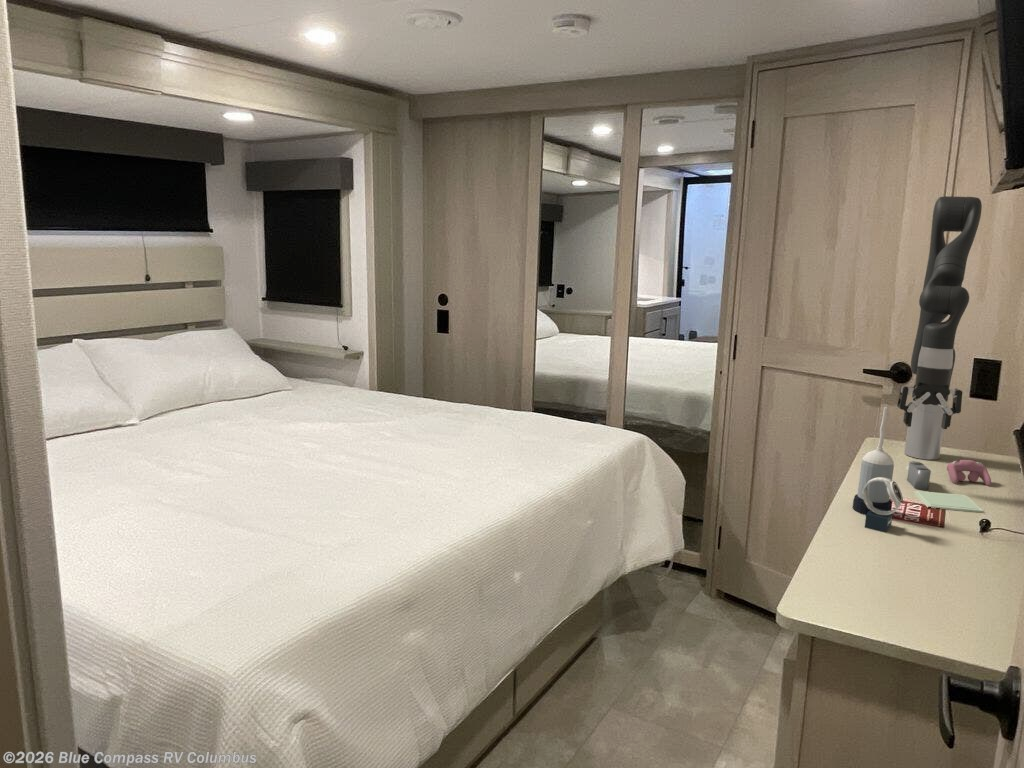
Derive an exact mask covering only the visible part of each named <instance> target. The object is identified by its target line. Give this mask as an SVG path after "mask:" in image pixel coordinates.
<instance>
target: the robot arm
mask: <svg viewBox="0 0 1024 768" xmlns="http://www.w3.org/2000/svg"><path fill="white" fill-rule="evenodd" d="M982 207H983V205H982V200H981V198H979V197H977V196H976V197H975V196H974V197H973V196H940V197H939V198H937V199H936V201H935V204H934V206H933V211H932V221H931V231H930V243H929V244H930V245H929V253H928V261H927V265H926V271H925V276H924V281H923V287H922V292H921V293H920V296H919V299H918V305H919V307H920V311H919V320H918V325H917V330H916V336H915V339H914V343H913V344H914V345H913V349H912V353H911V360H910V369H911V373H912V374H913V375H915V383H914V386H906V385H905V384H904V385H903V384H902V385H901V386H900V390H899V395H898V399H897V405H896V407H897V408H899V409H900V410H902V411H903V412H904V413H903V420H902V421H903V424H905V426H906V427H907V432H906V437H905V444H904V445H905V446H904V451H903V453H904V455H906V456H909V457H911V458H914V459H915V458H916V459H920V460H929V461H930V460H931V461H933V460H938V459H940V455H941V450H942V449H941V448H942V441H943V436H944V435H943V434H944V430H947V429H948V428H950V427H951V422H952V421H951V420H952V416H953V415H955V414H960V413H961V412H962V404H963V403H962V401H963V390H961V389H959V388H953V389H950V388H951V381H952V378H953V377H952V376H953V372H954V369H955V368H954V367H955V362H956V350H955V347H954V345H955V339H956V334H957V330H958V326H959V324H960V321H961V318H962V316H963V315H964V313H965V311H966V309H967V307H968V305H969V302H970V293H969V292H968V290H967V289H966V287H964V286H963V282H964V279H965V272H966V268H967V261H968V259H969V258H968V257H969V254H970V251H971V250H972V249H971V248H972V246H973V244H974V240H975V238H976V234H977V232H978V231H977V230H978V228H979V226H980V225H979V224H980V221H981V217H982V210H983V208H982ZM945 232H955V233H956V232H957V233H959V234H958V235H957V236H956V237H955V238H954V239H953V240H952V241H950V242H949V243H948V244H947V243H946V239H945ZM948 316H949V317H948ZM947 317H948V318H947ZM946 318H947V319H946ZM945 319H946V320H945ZM944 320H945V321H944ZM911 393H912V395H911V399H910V400H909V402H908V403H907V399H908V396H909V395H910V394H911ZM949 396H950V397H951V398H952V405H951V406H952V407H950V406H949V404H948V401H949Z"/></svg>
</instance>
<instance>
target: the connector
mask: <svg viewBox="0 0 1024 768" xmlns="http://www.w3.org/2000/svg"><path fill="white" fill-rule="evenodd" d="M906 471H907V477H906V481H907V483H909V484H910V485H911V486H912V487H913V489H915V490H916V491H924V492H928V490H929V487H930V480H931V479H930V478H931V473H932V471H931V469H930V468H928V467H927V466H926V465H925V464H924V463H923V462H920V461H909V462H908V465H906Z"/></svg>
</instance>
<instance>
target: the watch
mask: <svg viewBox="0 0 1024 768" xmlns="http://www.w3.org/2000/svg"><path fill="white" fill-rule="evenodd" d="M874 481H883V482H885V485H886V486H887V491H888V494H889V497H890V498H889V499H890V500H891V502H892V503H893V504H894V506H895V508H894V509H891V511H887V510H882V509H878V508H874V506H873V503H872V502H871V500H870V497H869V494H868V490H867V489H868V488H867V485H868V484H869V483H871V482H874ZM862 495H863V499H864V502H865V504H866V506H867V508H868V509H870V510H869V511H868V513H867V514H866V515H865V521H864V522H865V523H864V528H866V529H869V530H874V531H879V532H881V533H882V532H883V533H887V531H888V530H889V529H890V527H891V526H892V523H893V522H892V521H893V516H894V514H895V512H896V511H897V510H898V509H899V508H900V506H901V504H902V503H903V502H904V498H903V494H902V491H901V488H900V487H899V485H898V483H896V481H893V480H892V481H891V480H890V479H888V478H884V477H877V478H873V479H871V480H870V481H869V482H868V483H867V484H866V485H865V486H864V488H863V492H862Z"/></svg>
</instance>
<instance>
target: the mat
mask: <svg viewBox="0 0 1024 768" xmlns="http://www.w3.org/2000/svg"><path fill="white" fill-rule="evenodd" d="M913 494H914V495H915V496H916V497H917V498H918V499H919V500H920V501H921V502H922V504H923V505H925V506H926V507H927V508H928V507H931V508H930V509H936V508H940V509H939V510H948V511H962V512H969V513H970V512H972V513H982V514H984V513H985V511H984V510H983V509H982V508H981V507H980V506H979V505H978V504H977V503H975V502H974V501H973V500H972V499H971V498H970V497H968V496H967V495H965V494H957V493H956V494H955V493H944V492H935V491H932V492H931V491H922V490H913Z"/></svg>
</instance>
